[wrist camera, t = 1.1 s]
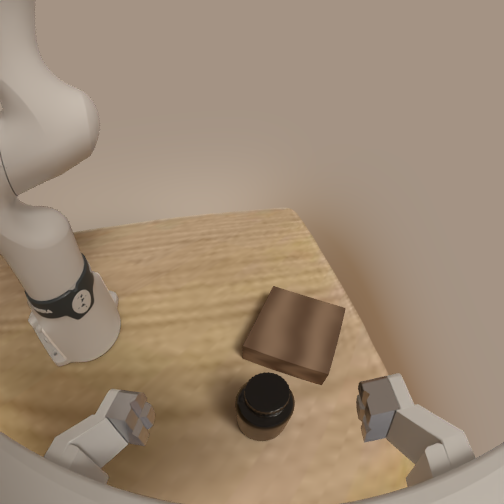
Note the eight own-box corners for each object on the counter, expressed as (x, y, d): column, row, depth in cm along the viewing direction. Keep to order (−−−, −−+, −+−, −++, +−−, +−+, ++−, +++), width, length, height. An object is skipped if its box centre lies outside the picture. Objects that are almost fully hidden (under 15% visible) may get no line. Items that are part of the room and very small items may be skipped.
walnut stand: (242, 358, 42) (242, 345, 39) (271, 300, 51) (273, 286, 48) (321, 385, 38) (328, 374, 35) (339, 322, 47) (345, 308, 45)
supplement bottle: (252, 391, 37) (255, 353, 30) (293, 411, 35) (311, 379, 27) (227, 427, 33) (221, 401, 25) (270, 450, 30) (282, 432, 23)
